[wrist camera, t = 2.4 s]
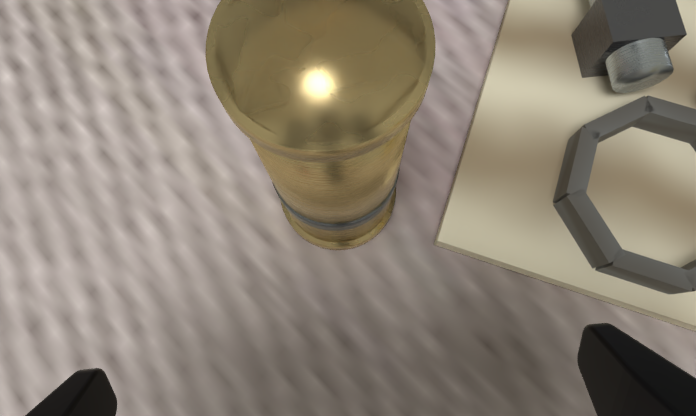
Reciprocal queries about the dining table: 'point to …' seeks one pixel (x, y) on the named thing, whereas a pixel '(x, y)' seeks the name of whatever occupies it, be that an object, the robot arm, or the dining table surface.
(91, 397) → the robot arm
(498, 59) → the coupling plate
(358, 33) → the cylinder
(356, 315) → the dining table surface
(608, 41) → the shaft
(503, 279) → the dining table surface
